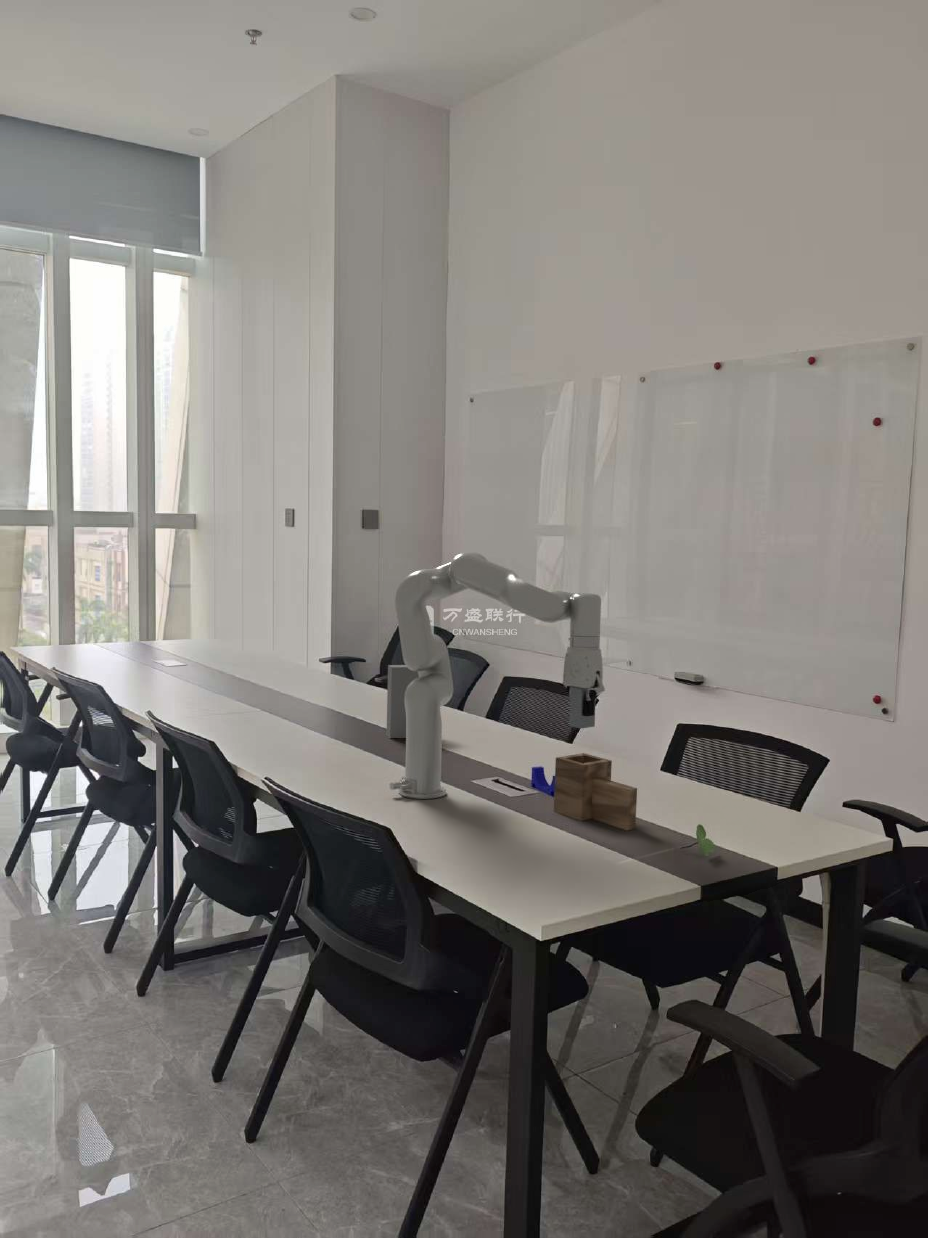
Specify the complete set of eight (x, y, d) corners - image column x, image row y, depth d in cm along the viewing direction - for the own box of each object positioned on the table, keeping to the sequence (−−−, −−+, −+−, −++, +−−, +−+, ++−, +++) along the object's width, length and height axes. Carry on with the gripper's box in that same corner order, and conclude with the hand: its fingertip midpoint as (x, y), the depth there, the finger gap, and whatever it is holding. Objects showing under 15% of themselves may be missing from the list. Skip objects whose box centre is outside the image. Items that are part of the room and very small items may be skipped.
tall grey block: (424, 736, 352) (426, 664, 349) (429, 740, 346) (431, 666, 344) (385, 738, 347) (386, 664, 345) (389, 741, 341) (391, 667, 339)
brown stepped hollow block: (616, 832, 246) (619, 775, 245) (553, 811, 263) (555, 757, 262) (645, 826, 252) (647, 770, 251) (581, 805, 269) (583, 753, 268)
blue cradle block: (568, 797, 278) (569, 775, 278) (555, 798, 276) (555, 777, 276) (544, 786, 289) (545, 765, 288) (531, 788, 287) (531, 767, 286)
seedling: (693, 870, 234) (718, 860, 231) (673, 857, 230) (698, 846, 227) (689, 843, 239) (713, 833, 236) (669, 829, 235) (693, 818, 232)
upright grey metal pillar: (580, 728, 257) (581, 686, 256) (568, 725, 260) (569, 683, 260) (595, 726, 260) (597, 684, 259) (583, 723, 264) (584, 682, 263)
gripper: (550, 640, 263) (548, 710, 264) (598, 646, 250) (595, 721, 251) (572, 638, 267) (569, 708, 269) (619, 645, 254) (616, 718, 256)
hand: (582, 713), depth 260 cm, fingers closed on upright grey metal pillar, 4 cm apart
